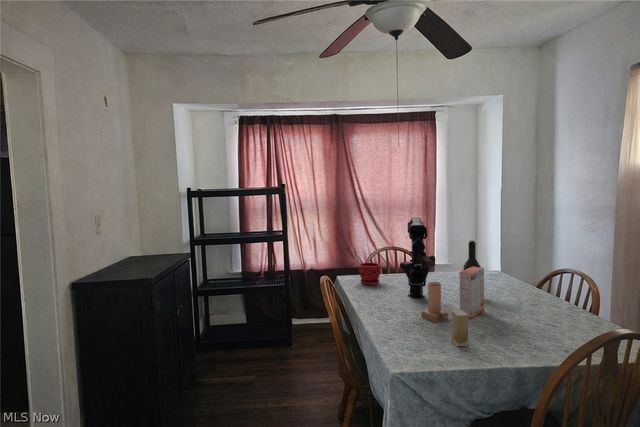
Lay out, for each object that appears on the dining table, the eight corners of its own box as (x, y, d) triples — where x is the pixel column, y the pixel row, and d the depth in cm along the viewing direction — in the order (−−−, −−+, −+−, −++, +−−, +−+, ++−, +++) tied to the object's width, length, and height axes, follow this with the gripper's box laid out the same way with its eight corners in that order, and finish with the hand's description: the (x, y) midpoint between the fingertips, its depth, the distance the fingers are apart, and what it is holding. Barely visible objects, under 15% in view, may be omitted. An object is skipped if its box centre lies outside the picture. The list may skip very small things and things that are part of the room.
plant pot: (382, 285, 226) (382, 266, 225) (360, 286, 227) (359, 266, 226) (379, 280, 239) (378, 261, 238) (358, 280, 240) (358, 262, 239)
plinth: (433, 313, 177) (433, 307, 176) (447, 318, 170) (447, 312, 169) (421, 317, 172) (421, 310, 172) (435, 322, 166) (435, 315, 165)
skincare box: (450, 340, 147) (450, 309, 146) (461, 339, 147) (461, 309, 146) (457, 347, 140) (457, 315, 140) (468, 346, 141) (469, 314, 140)
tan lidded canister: (430, 308, 175) (430, 281, 174) (442, 310, 171) (442, 282, 170) (426, 312, 170) (426, 283, 169) (438, 314, 167) (438, 285, 166)
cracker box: (472, 308, 182) (472, 265, 180) (484, 311, 178) (485, 267, 176) (458, 316, 172) (458, 271, 171) (471, 319, 168) (472, 273, 166)
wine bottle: (480, 295, 202) (481, 240, 199) (480, 300, 194) (480, 242, 192) (464, 294, 205) (464, 239, 203) (462, 298, 198) (462, 241, 195)
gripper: (415, 254, 173) (416, 288, 174) (444, 249, 182) (444, 281, 183) (398, 251, 182) (399, 282, 183) (426, 246, 192) (426, 277, 193)
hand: (417, 281), depth 185 cm, fingers open, 9 cm apart
